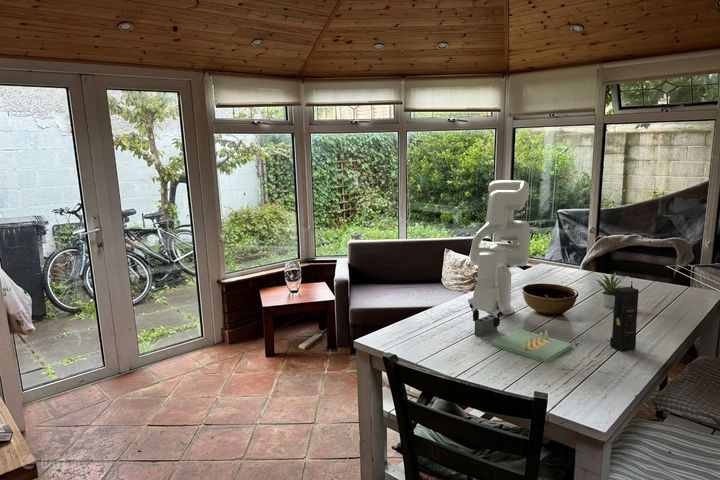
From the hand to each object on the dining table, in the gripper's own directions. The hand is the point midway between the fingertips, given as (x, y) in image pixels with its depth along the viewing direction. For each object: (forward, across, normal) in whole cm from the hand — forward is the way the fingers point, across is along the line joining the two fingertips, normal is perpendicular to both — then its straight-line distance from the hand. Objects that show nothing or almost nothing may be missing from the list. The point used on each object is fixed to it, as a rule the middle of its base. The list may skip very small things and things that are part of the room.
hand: (485, 323), depth 194 cm
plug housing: (+4, 0, +1) cm, 4 cm away
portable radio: (+4, +44, +23) cm, 49 cm away
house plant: (+3, +22, +70) cm, 73 cm away
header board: (+4, +20, +1) cm, 20 cm away
